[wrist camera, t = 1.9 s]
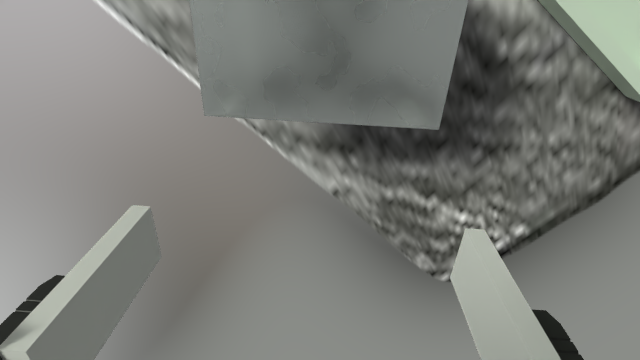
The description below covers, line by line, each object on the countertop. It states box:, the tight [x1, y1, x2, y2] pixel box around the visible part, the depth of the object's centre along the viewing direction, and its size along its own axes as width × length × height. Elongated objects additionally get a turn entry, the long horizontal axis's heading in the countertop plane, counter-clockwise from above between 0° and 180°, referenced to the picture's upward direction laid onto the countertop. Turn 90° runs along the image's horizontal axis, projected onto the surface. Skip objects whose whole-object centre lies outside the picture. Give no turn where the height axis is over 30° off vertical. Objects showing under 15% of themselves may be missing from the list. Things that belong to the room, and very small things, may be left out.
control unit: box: [189, 0, 468, 130], centre depth 21 cm, size 11×13×14 cm
